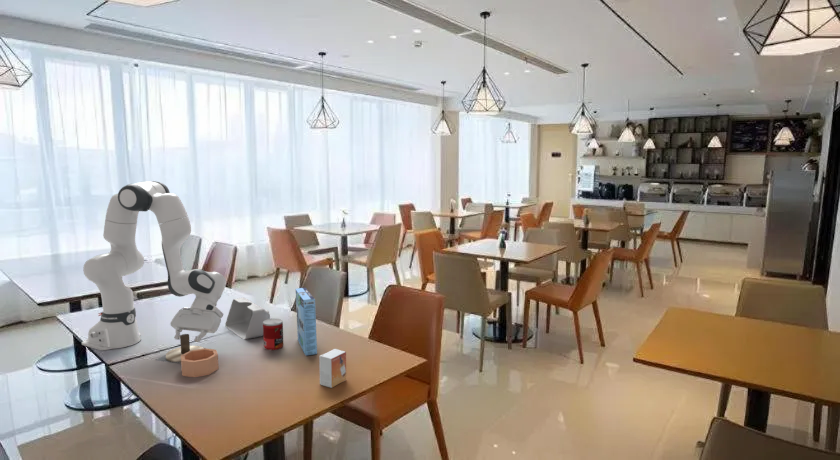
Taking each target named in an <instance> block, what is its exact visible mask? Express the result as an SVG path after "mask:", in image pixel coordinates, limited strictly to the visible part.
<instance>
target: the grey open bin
mask: <svg viewBox="0 0 840 460" xmlns="http://www.w3.org/2000/svg"><path fill="white" fill-rule="evenodd" d="M270 315H271V314H270V311H269V309H267V310H266V309H265V308H263V307H262V306H260V305H258V304H256V303H254V302H253V301H251V300H249V299H247V298H246V297H239V298H233V299H232V301H231V304H230V308H229V311H228V315H227V317H226V320H225V323H224V324H225V328H227V329H228V330H230V331H231V332H232V333H233V334H235V335H236V336H238V337H239V338H240V339H243V340H250V339H255V338H259V337H263V321H265V320H268V319H271V316H270Z"/></svg>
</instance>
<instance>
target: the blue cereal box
mask: <svg viewBox="0 0 840 460" xmlns="http://www.w3.org/2000/svg"><path fill="white" fill-rule="evenodd" d="M295 302H296V303H295V305H296V325H297V326H296V328H297V331H296V332H297V342H298V343H299V345H300V348H301V350H302V352H303V354H304V355H305V356H306V357H307V356H312V355H313V356H314V355H317V354H318V342H317V317H316V315H317V314H316V312H317V311H316V298H315V297H314V296H313V294H311V292H310V291H309V290H308V288H307V287H299V288H298V287H297V288H295Z"/></svg>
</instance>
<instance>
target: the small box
mask: <svg viewBox="0 0 840 460" xmlns="http://www.w3.org/2000/svg"><path fill="white" fill-rule="evenodd" d="M318 358H319V362H318V363H319V385H321V386H324V387H327V388H332V389H333V388H334V387H335V386H337V385H340V384H341V383H343V382H345V381H346V380H347V352H346V351H344V350H340V349H338V348H333V349H332V350H329V351H328V352H325V353H322V354H320V355H319V357H318Z"/></svg>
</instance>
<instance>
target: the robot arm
mask: <svg viewBox="0 0 840 460" xmlns="http://www.w3.org/2000/svg"><path fill="white" fill-rule="evenodd" d="M186 210H187V209H186V207H185V206H184V204H183V202H182V200H181V198H180V197H179V195H177V194H176V193H171V192H170V190H169V188H168V186H167V185H165V184H164V183H163V182H160V181H157V180H155V181H154V180H153V181H152V180H151V181H140V182H136V183H130V184H126V185H124V186H123V187H121V188H120V190H119V191H118V193H116V194H114V195H112V196H111V197H110V200H109V202H108V206H107V209H106V214H105V220H104V227H103V234H102V236H103V239H104V240H105V241H106V242H107V243H109V244H110V252H106V253H102V254H98V255H95V256H93V257H91V258H89V259H87V260H86V261H85V263H84V265H83V275H84V276H85V278H86V279H87V280H88V281H90V282H92V283H93V284H95V286H97V289H98V290H99V293H100V296H101V304H102V312H98V313H97V315H98V317H99V316H100V319H99V321H97V323H95V324H94V325H93V326H92V327H90V328H89V330H88V334H87V335H88V336H87V337H88V338H86V339H84V340H83V341H82V342H81V345H82V346H85V347H88V348H91V349H95V350H98V351H101V352H102V351H109V350H114V349H120V348H125V347H127V348H128V347H129V346H133V345H135V344H137V343H139V342H140V341H141V340H142V338H141V332H140V331H139V325H138V320H137V318H136V317H137V314H136V313H137V311H136V307H135V304H134V292H133V290H132V288H130V287H129V286H126V284H124V281H123V277H126V276H129V275H132V274H134V273H136V272H138V271H140V270H141V269H142V268H143V267H144V264H145V256H144V255H143V253H142V252H141V251H140V250H138V247H137V245H136V232H137V225H138V217H139V212H148V211H151V212H152V213H153V214H154V215H155V217H156V220H157V223H158V226H159V230H160V235H161V248H162V249H161V250H162V254H163V258H164V259H163V260H164V263H165V267H166V272H167V288H168V290H169V292H170V293H171V294H172V295H174V296H175V297H185V296H188V295H192V294H193V295H195V298H194V300H193V302H192V304H191V306H190V307H182V308H181V309H178V311H177V312H176V314H175V315H174V316H173V318H172V319H171V321H170V323H169V325H170V327H171V328H173V329H174V330H175V335H174V337H173V338H174V340H176V341H177V340H178V341H180V335H181V333H182V331H190V332H197V333H199V334H198V335H196V336H195V338H194V342H195V343H200V342H201V341H202V339H203V338H204V337H205V336H207V334H208V333H209V334H215V333H216V332H218V330H219V327H220V325H221V322H222V318H223V317H224V313H223V311H222V310H221V309H219V308H218V307H217V305H218V302H219V300H220V299H221V297H222V295H223V293H224V291H225V288H226V283H227V280H226V277H225V276H224V275H223V274H221V273H220V272H218V271H205V270H203V269H201V268H200V269H199V268H194V269H190V270H185V269H184V264H183V260H182V259H183V258H182V256H181V255H182V254H181V248H182V245H183V244H184V243H185V242H186V240H187V239H188V238H189V237H190V235H191V232H192V226H191V225H192V224H191V221H190V218H189V216H188V212H187V211H186Z"/></svg>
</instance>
